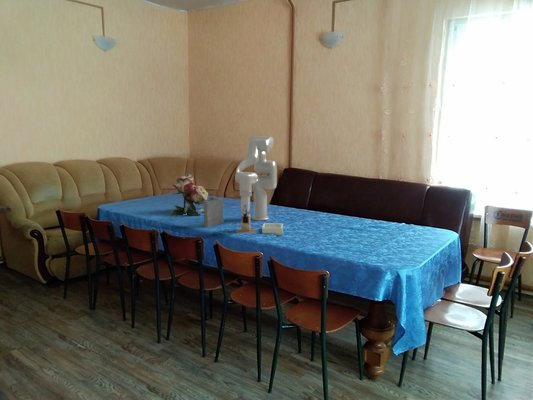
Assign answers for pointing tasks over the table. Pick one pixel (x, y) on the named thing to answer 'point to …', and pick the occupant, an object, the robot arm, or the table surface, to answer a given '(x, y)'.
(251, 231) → the stud base
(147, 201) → the table surface
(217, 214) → the grey rectangular slab
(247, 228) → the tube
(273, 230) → the bin
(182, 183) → the rose bouquet
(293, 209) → the table surface
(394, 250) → the table surface
